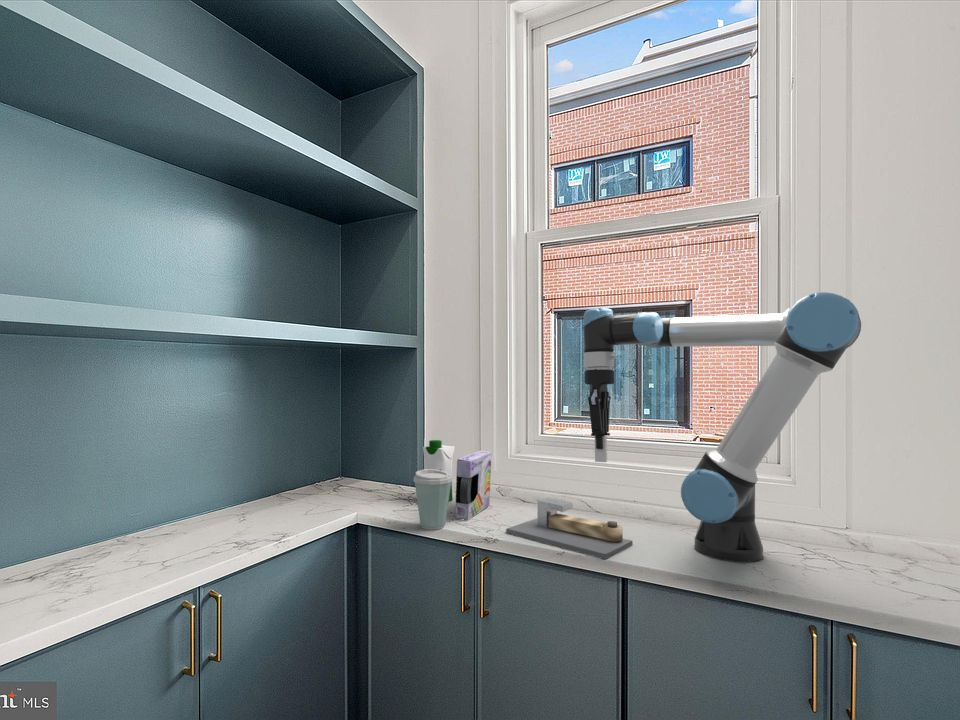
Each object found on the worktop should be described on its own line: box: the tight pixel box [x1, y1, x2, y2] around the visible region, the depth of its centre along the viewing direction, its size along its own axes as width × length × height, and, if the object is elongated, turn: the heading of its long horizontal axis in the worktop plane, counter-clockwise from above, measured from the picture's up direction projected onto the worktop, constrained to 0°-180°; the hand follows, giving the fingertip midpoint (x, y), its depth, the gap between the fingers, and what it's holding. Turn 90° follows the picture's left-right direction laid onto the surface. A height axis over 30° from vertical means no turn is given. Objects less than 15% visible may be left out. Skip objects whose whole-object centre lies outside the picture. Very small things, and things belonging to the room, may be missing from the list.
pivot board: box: [505, 518, 634, 560], centre depth 137 cm, size 29×14×1 cm, turn 49°
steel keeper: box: [536, 497, 574, 527], centre depth 145 cm, size 8×5×8 cm, turn 49°
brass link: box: [549, 512, 624, 542], centre depth 138 cm, size 20×5×4 cm, turn 53°
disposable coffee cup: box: [412, 469, 453, 531], centre depth 146 cm, size 11×11×15 cm
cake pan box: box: [454, 450, 493, 521], centre depth 162 cm, size 19×5×18 cm, turn 159°
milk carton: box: [422, 439, 456, 503], centre depth 176 cm, size 9×9×20 cm
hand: (601, 461), depth 136 cm, fingers closed
